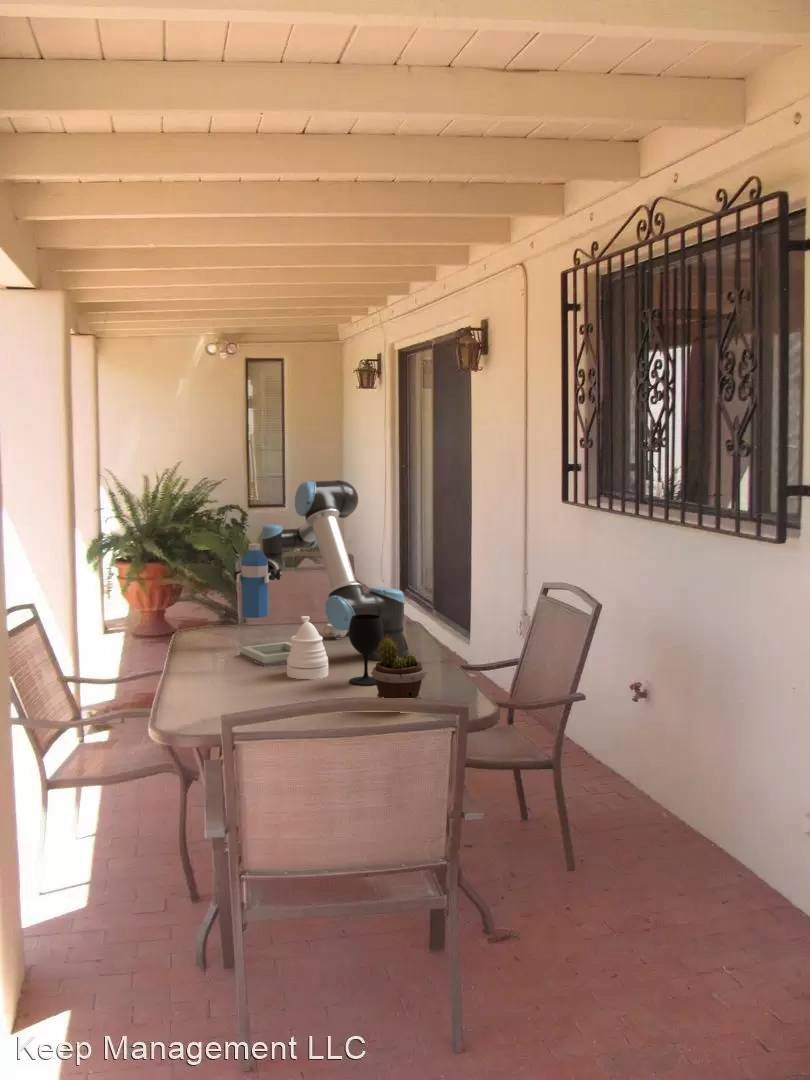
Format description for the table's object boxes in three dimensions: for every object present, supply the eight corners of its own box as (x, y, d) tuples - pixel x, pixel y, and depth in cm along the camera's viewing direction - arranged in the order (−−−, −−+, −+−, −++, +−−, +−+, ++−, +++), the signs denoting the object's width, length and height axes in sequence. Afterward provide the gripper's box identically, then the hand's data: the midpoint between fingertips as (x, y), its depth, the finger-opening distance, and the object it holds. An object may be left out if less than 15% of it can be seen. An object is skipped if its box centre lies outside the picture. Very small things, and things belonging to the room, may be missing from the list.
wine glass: (370, 687, 308) (370, 621, 306) (341, 682, 314) (341, 617, 311) (389, 680, 317) (389, 615, 315) (361, 676, 322) (361, 612, 320)
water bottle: (236, 616, 359) (235, 544, 356) (250, 612, 368) (249, 542, 365) (260, 618, 356) (259, 546, 353) (273, 614, 364) (273, 543, 362)
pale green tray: (312, 660, 343) (312, 651, 343) (265, 666, 334) (265, 657, 334) (285, 649, 360) (285, 640, 360) (239, 654, 351) (239, 646, 351)
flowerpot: (435, 703, 291) (435, 633, 289) (405, 716, 278) (406, 642, 276) (391, 695, 299) (392, 627, 297) (361, 707, 286) (361, 636, 284)
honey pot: (281, 672, 327) (281, 615, 325) (320, 668, 332) (320, 613, 330) (293, 681, 315) (293, 623, 313) (334, 677, 320) (333, 620, 318)
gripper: (296, 580, 377) (283, 590, 355) (237, 580, 379) (220, 589, 357) (295, 560, 377) (282, 568, 354) (237, 559, 379) (220, 567, 356)
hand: (251, 578), depth 356 cm, fingers closed on water bottle, 9 cm apart
